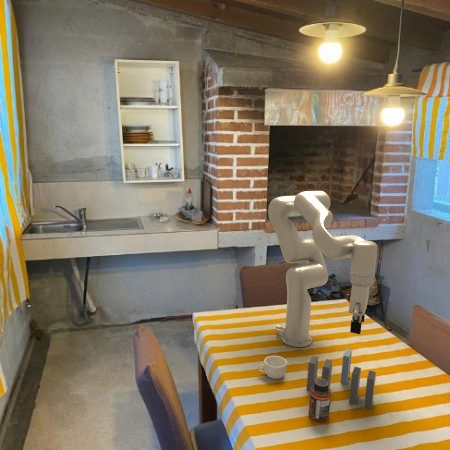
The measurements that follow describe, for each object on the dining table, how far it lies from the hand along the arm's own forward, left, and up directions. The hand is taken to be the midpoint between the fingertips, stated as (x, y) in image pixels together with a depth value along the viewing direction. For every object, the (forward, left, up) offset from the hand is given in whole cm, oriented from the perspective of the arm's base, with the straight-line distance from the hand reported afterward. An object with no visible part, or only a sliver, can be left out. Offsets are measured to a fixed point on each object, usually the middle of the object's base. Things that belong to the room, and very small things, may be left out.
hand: (357, 327), depth 135 cm
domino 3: (-2, -2, -19) cm, 19 cm away
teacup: (-25, -12, -20) cm, 34 cm away
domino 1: (-11, -12, -19) cm, 25 cm away
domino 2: (-7, -12, -19) cm, 23 cm away
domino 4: (+2, -12, -19) cm, 23 cm away
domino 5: (+7, -12, -19) cm, 24 cm away
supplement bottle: (-6, -25, -20) cm, 32 cm away
